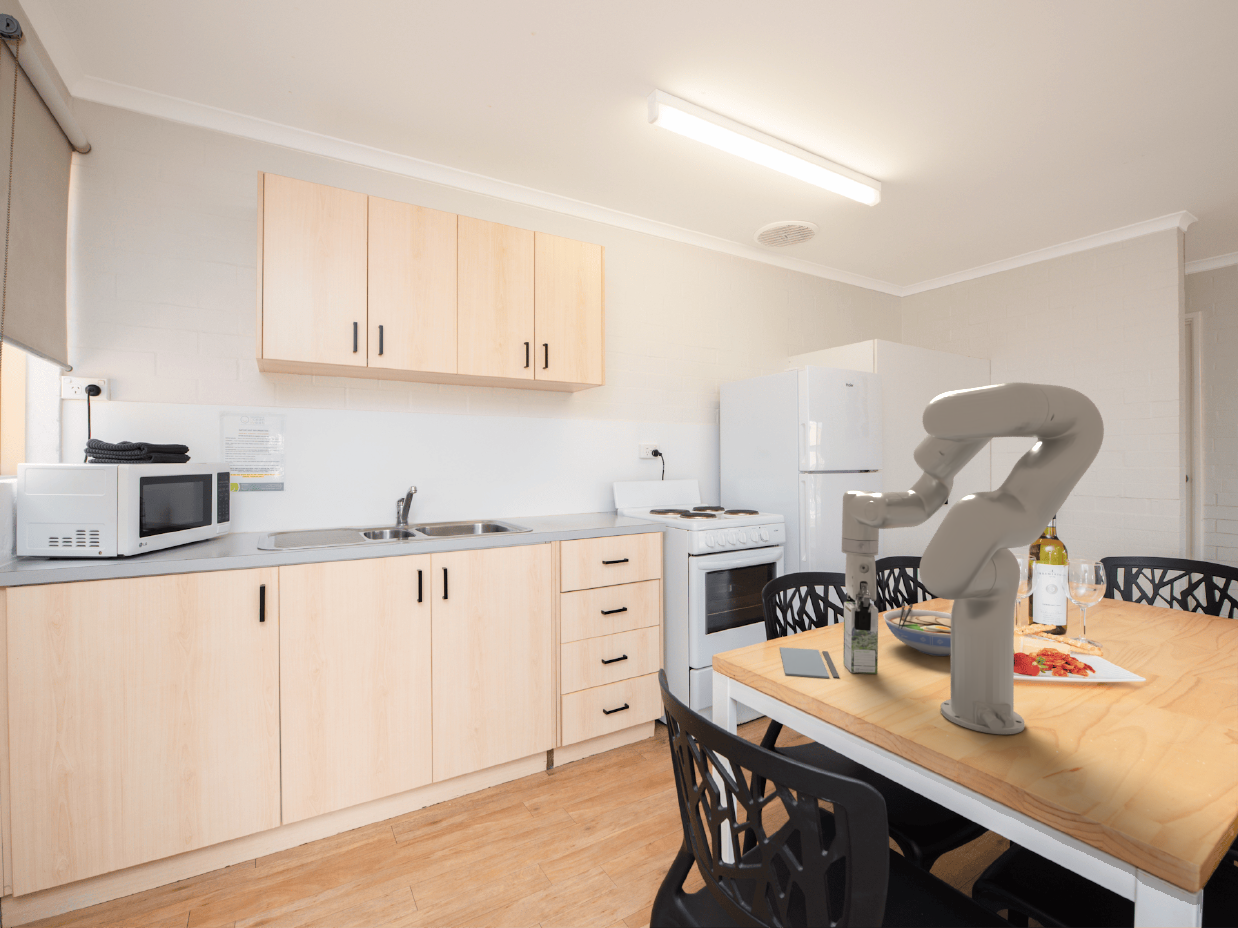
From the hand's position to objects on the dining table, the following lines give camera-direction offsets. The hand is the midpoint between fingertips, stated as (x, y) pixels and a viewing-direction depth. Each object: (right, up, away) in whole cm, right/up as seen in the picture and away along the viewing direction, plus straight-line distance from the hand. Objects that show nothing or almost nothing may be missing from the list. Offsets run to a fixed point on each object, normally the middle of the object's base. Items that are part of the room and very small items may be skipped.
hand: (857, 623), depth 128 cm
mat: (-11, -10, +4) cm, 15 cm away
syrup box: (0, -10, -1) cm, 10 cm away
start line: (-5, -10, +3) cm, 12 cm away
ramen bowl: (+23, -10, +12) cm, 28 cm away
